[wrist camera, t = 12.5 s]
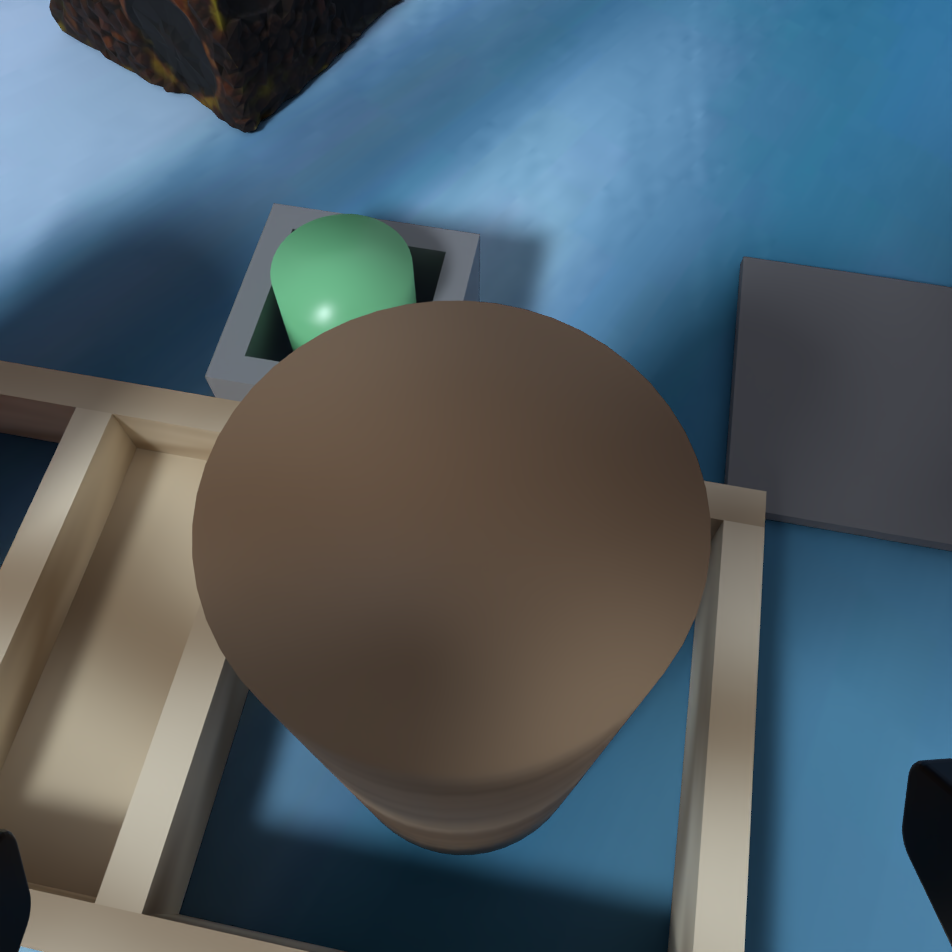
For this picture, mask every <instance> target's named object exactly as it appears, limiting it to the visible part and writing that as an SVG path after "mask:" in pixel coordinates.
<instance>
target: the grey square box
mask: <svg viewBox="0 0 952 952" xmlns="http://www.w3.org/2000/svg"><path fill="white" fill-rule="evenodd" d="M337 214H342V213H335V212H328V211H322V210H315V209H308V208H302V207H295V206H288V205H282V204H275V203H274V204H273V207H272V209H271V212H270V214H269V217H268V219H267V222H266V224H265V227H264V229H263V232H262V234H261V237H260V239H259V242H258V244H257V247H256V249H255V252H254V254H253V257H252V259H251V262H250V264H249V267H248V269H247V272H246V274H245V277H244V280H243V282H242V285H241V287H240V290H239V292H238V295H237V297H236V300H235V302H234V305H233V307H232V310H231V312H230V315H229V317H228V320H227V322H226V325H225V327H224V330H223V332H222V335H221V337H220V340H219V342H218V345H217V347H216V350H215V352H214V355H213V357H212V360H211V362H210V365H209V367H208V370H207V372H206V375H205V378H206V380H207V382H208V384H209V386H210V388H211V390H212V392H213V394H214V396H215V397H216V398H222V399H228V400H234V401H240V402H241V401H242V400H243V399H244V397H245V396H246V395H247V394H248V392H249V391H250V390H251V389H252V387H253V386H254V385H255V384H256V383H257V382H259V381H260V380H261V379H262V378H263V377H264V376H265V375H266V374H267V373H268V372H269V371H270V370H271V369H272V368H273V367H274V366H275V365H276V364H278V363H279V362H280V361H282V360H283V359H284V358H285V357H287V356H288V355H289V354H291V353H292V352H293V349H292V346H291V343H290V340H289V337H288V334H287V331H286V328H285V325H284V321H283V318H282V315H281V312H280V309H279V306H278V303H277V300H276V297H275V293H274V290H273V287H272V283H271V276H270V270H271V263H272V260H273V257H274V255H275V253H276V250H277V249H278V247H279V246H280V244H281V243H282V242H283V241H284V240H285V238H286V237H287V236H289V235H290V234H291V233H292V232H293V231H295V230H296V229H297V228H299V227H300V226H302V225H304V224H306V223H308V222H310V221H313V220H315V219H318V218H321V217H325V216H330V215H337ZM374 219H375V218H374ZM377 220H379V221H381V222H383V223H385V224H387V225H388V226H390V227H392V228H393V229H394V230H395V231H397V232H398V233H399V235H400V236H401V237H402V238H403V239H404V241H405V242H406V244H407V246H408V248H409V250H410V253H411V256H412V262H413V272H414V283H415V294H416V303H422V302H431V301H477V302H479V281H480V234H475V233H468V232H461V231H455V230H448V229H441V228H435V227H428V226H421V225H415V224H408V223H401V222H395V221H388V220H381V219H377Z"/></svg>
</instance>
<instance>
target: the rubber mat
mask: <svg viewBox="0 0 952 952" xmlns="http://www.w3.org/2000/svg"><path fill="white" fill-rule="evenodd" d="M724 484H725V485H731V486H737V487H743V488H749V489H755V490H761V491H766V511H765V519H769V520H775V521H780V522H786V523H792V524H798V525H803V526H809V527H815V528H821V529H826V530H832V531H838V532H844V533H849V534H855V535H861V536H867V537H872V538H878V539H884V540H890V541H896V542H901V543H907V544H913V545H919V546H924V547H930V548H936V549H942V550H947V551H952V287H946V286H939V285H932V284H925V283H919V282H912V281H905V280H899V279H892V278H885V277H878V276H872V275H865V274H858V273H851V272H845V271H838V270H831V269H825V268H818V267H811V266H804V265H798V264H791V263H784V262H777V261H771V260H764V259H757V258H751V257H743V259H742V262H741V264H740V276H739V290H738V303H737V317H736V331H735V345H734V358H733V372H732V386H731V400H730V413H729V427H728V441H727V455H726V468H725V482H724Z"/></svg>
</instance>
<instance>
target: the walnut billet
mask: <svg viewBox="0 0 952 952" xmlns="http://www.w3.org/2000/svg"><path fill="white" fill-rule="evenodd" d="M710 552H711V518H710V511H709V505H708V498H707V491H706V486H705V483H704V480H703V476H702V473H701V469H700V466H699V463H698V459H697V457H696V455H695V453H694V450H693V448H692V446H691V444H690V442H689V439H688V437H687V435H686V433H685V431H684V429H683V428H682V426H681V424H680V423H679V421H678V420H677V418H676V416H675V415H674V413H673V411H672V410H671V408H670V407H669V405H668V404H667V403H666V402H665V400H664V399H663V398H662V397H661V396H660V394H659V393H658V392H657V391H656V389H655V388H654V387H653V386H652V384H651V383H650V382H649V381H648V380H647V379H646V378H644V377H643V376H642V375H641V374H640V373H639V372H638V371H637V370H636V369H635V368H634V367H633V366H632V365H631V364H630V363H629V362H627V361H626V360H625V359H623V358H622V357H621V356H619V355H618V354H617V353H615V352H614V351H613V350H612V349H610V348H609V347H608V346H606V345H605V344H603V343H601V342H599V341H598V340H596V339H594V338H593V337H591V336H589V335H588V334H586V333H584V332H582V331H581V330H579V329H576V328H574V327H572V326H570V325H567V324H565V323H563V322H561V321H558V320H556V319H554V318H551V317H548V316H545V315H542V314H538V313H535V312H532V311H529V310H526V309H521V308H517V307H512V306H507V305H502V304H497V303H487V302H477V301H431V302H422V303H413V304H406V305H402V306H397V307H393V308H388V309H384V310H379V311H376V312H373V313H370V314H367V315H364V316H361V317H358V318H355V319H352V320H349V321H347V322H345V323H343V324H341V325H339V326H337V327H334V328H332V329H330V330H328V331H326V332H324V333H322V334H320V335H318V336H317V337H315V338H314V339H312V340H310V341H309V342H307V343H305V344H304V345H302V346H300V347H299V348H297V349H296V350H295V351H293V352H292V353H291V354H289V355H288V356H287V357H285V358H284V359H283V360H282V361H280V362H279V363H278V364H276V365H275V366H274V367H273V368H272V369H271V370H270V371H269V372H268V373H267V374H266V375H265V376H264V377H263V378H262V379H261V380H260V381H259V382H257V383H256V384H255V385H254V386H253V387H252V389H251V390H250V391H249V392H248V394H247V395H246V396H245V397H244V399H243V400H242V401H241V402H240V404H239V405H238V406H237V407H236V409H235V410H234V411H233V413H232V414H231V416H230V418H229V419H228V421H227V423H226V424H225V426H224V427H223V429H222V431H221V432H220V434H219V436H218V437H217V440H216V442H215V444H214V446H213V449H212V451H211V453H210V455H209V458H208V460H207V462H206V464H205V467H204V471H203V474H202V478H201V481H200V485H199V488H198V491H197V495H196V502H195V509H194V516H193V523H192V559H193V566H194V573H195V580H196V587H197V591H198V594H199V598H200V601H201V604H202V608H203V611H204V614H205V618H206V621H207V623H208V625H209V627H210V629H211V631H212V633H213V635H214V637H215V640H216V642H217V644H218V646H219V648H220V650H221V652H222V653H223V655H224V656H225V658H226V659H227V661H228V662H229V664H230V665H231V667H232V668H233V670H234V671H235V673H236V674H237V676H238V677H239V679H240V680H241V681H242V682H243V683H244V684H245V685H246V686H247V687H248V689H249V690H250V691H251V692H252V693H253V694H254V695H255V696H256V697H257V698H258V700H259V701H260V702H261V703H262V704H263V705H264V706H265V707H266V708H267V709H268V710H269V711H270V712H271V713H272V714H273V715H274V716H275V717H276V718H277V719H278V720H279V721H280V722H281V723H282V724H283V725H284V726H285V727H286V728H287V729H288V730H289V731H290V732H291V733H292V734H293V735H294V736H295V737H296V738H297V739H298V740H299V741H300V742H301V743H302V744H303V745H304V746H305V747H306V748H307V749H308V750H309V751H310V752H311V753H312V754H313V755H314V756H315V757H316V758H317V759H318V760H319V761H320V762H321V763H322V764H323V765H324V766H325V767H326V768H327V769H328V770H329V771H330V772H331V773H332V774H333V775H334V776H335V777H336V778H337V779H338V780H339V781H340V782H341V783H342V784H343V785H344V786H346V787H347V788H348V789H349V790H350V791H351V792H352V793H353V794H354V795H355V796H356V797H357V798H358V799H359V800H360V801H361V802H362V803H363V804H364V805H365V806H366V807H367V808H368V809H369V810H370V811H371V812H372V813H373V814H374V815H375V816H376V817H377V818H378V819H379V820H380V821H381V822H382V823H383V824H384V825H385V826H387V827H388V828H389V829H390V830H391V831H393V832H394V833H395V834H397V835H398V836H400V837H402V838H403V839H405V840H407V841H408V842H410V843H413V844H415V845H417V846H420V847H422V848H424V849H428V850H431V851H435V852H439V853H445V854H453V855H475V854H481V853H487V852H492V851H495V850H498V849H501V848H505V847H507V846H509V845H511V844H514V843H516V842H518V841H520V840H522V839H523V838H525V837H526V836H528V835H529V834H531V833H532V832H534V831H535V830H536V829H538V828H539V827H540V826H541V825H542V824H543V823H545V822H546V821H547V820H548V819H549V818H550V816H551V815H552V814H553V813H554V812H555V811H556V810H557V808H558V807H559V806H560V805H561V804H562V802H563V801H564V800H565V798H566V797H567V796H568V795H569V793H570V792H571V791H572V790H573V788H574V787H575V786H576V784H577V783H578V782H579V781H580V779H581V778H582V777H583V776H584V774H585V773H586V772H587V770H588V769H589V768H590V767H591V765H592V764H593V763H594V762H595V760H596V759H597V758H598V756H599V755H600V754H601V753H602V751H603V750H604V749H605V748H606V746H607V745H608V744H609V742H610V741H611V740H612V739H613V737H614V736H615V735H616V734H617V732H618V731H619V730H620V728H621V727H622V726H623V725H624V723H625V722H626V721H627V720H628V718H629V717H630V716H631V714H632V713H633V712H634V711H635V709H636V708H637V707H638V706H639V704H640V703H641V702H642V700H643V699H644V698H645V697H646V695H647V694H648V693H649V692H650V690H651V689H652V688H653V686H654V685H655V684H656V683H657V681H658V680H659V679H660V678H661V676H662V675H663V674H664V672H665V671H666V669H667V668H668V666H669V665H670V663H671V662H672V660H673V659H674V657H675V655H676V654H677V652H678V651H679V649H680V648H681V646H682V645H683V643H684V641H685V639H686V636H687V634H688V632H689V630H690V628H691V626H692V623H693V621H694V619H695V617H696V615H697V612H698V609H699V605H700V602H701V598H702V595H703V592H704V588H705V585H706V581H707V573H708V566H709V559H710Z"/></svg>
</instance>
